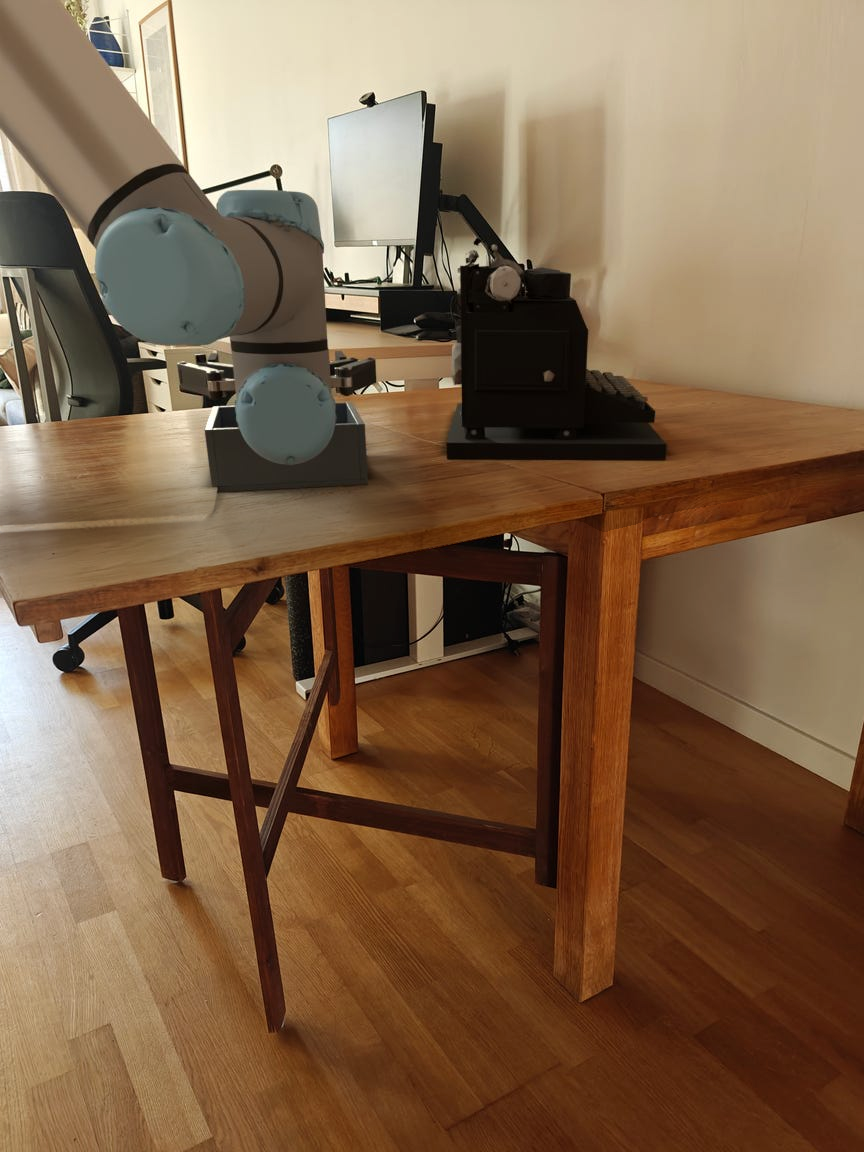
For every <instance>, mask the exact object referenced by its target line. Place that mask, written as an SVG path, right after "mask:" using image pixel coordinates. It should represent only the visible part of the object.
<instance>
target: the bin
mask: <svg viewBox="0 0 864 1152" xmlns="http://www.w3.org/2000/svg"><path fill="white" fill-rule="evenodd" d="M335 404H336V409H335V413H336V416H337V417H336V425H335V428H334V432H333V435H332V438H331V440H330V441H329V443H328V445H327V446H326V447H325V448H324V450H323V451H322V452H321V453H319V454H318V455H317V456H316V457H314V458H312V459H311V460H308V461H306V462H303V463H299V464H294V465H287V464H278V463H275V462H272V461H269V460H267V459H265V458H263V457H261V456H260V455H258V454H257V453H256V452H255V451H254V450H253V449H252V448H251V447H250V446H249V445H248V444H247V442H246V441H245V439H244V438H243V436H242V434H241V431H240V430H239V429H238V426H237V421H236V414H235V405H216V406H215V405H214V406H212V408H211V411H210V414H209V417H208V419H207V423H206V425H205V428H204V436H205V446H206V452H207V460H208V461H207V462H208V469H209V477H210V485H211V487H212V488H213V487H214V488H215V487H217V489H216V493H226V492H227V493H229V492H230V493H231V492H246V491H247V492H248V491H266V490H283V489H285V490H286V489H304V488H325V487H344V486H345V487H346V486H361V485H362V486H363V485H369V479H368V478H369V477H368V459H367V457H368V456H367V438H366V437H367V436H366V424H365V422H364V420H363V418H362V417H361V415H360V413H359V412H358V410H357V409H356V406H355V405H354V403H353V401H337V402H336V401H335Z"/></svg>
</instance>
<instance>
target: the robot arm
mask: <svg viewBox="0 0 864 1152" xmlns="http://www.w3.org/2000/svg"><path fill="white" fill-rule="evenodd" d="M0 130H1V131H2V133H3V134H4V136H5V137H6V138H7V139H8V141H9V142H10V143H11V144H12V145H13V147H14V148H15V149H16V150H17V152H18V153H19V154H20V155H21V157H22V158H23V159H24V161H25V162H26V163H27V164H28V166H29V167H30V168H31V170H32V171H33V172H34V173H35V174H36V176H37V177H38V178H39V179H40V181H41V182H42V183H43V184H44V186H45V187H46V188H47V189H48V191H49V192H50V193H51V194H52V196H53V197H54V198H55V199H56V201H57V202H58V203H59V204H60V206H61V207H62V208H63V210H65V212H66V213H67V214H68V216H69V218H71V219H72V221H73V222H74V223H75V225H76V226H77V227H78V228H79V229H80V231H81V232H82V233H83V234H84V236H85V237H86V238H87V239H88V241H89V242H90V244H91V245H92V246H93V247H94V249H95V257H94V267H93V268H94V275H95V279H96V281H97V284H98V289H99V291H100V294H101V297H102V302H103V304H104V306H105V308H106V310H107V311H108V313H109V314H110V315H111V317H112V318H113V319H114V320H115V322H116V323H117V324H118V325H119V326H120V327H121V328H122V329H123V330H125V331H127V332H128V333H129V334H130V335H132V336H133V337H135V338H137V339H139V340H141V341H143V342H146V343H150V344H153V345H155V346H156V345H157V346H163V347H182V346H185V347H201V346H207V345H208V346H209V345H211V344H213V343H216V342H217V341H219V340H222V339H225V338H229V342H230V350H231V351H230V352H231V360H232V361H231V362H232V364H230V363H222V362H220V361H219V353H218V352H210V354H209V356H208V358H207V354H206V353H196V354H194V358H195V363H190V362H186V361H180V362H177V363H176V366H177V373H178V381H179V388H180V389H181V390H185V391H189V392H192V393H196V394H200V395H203V396H206V397H208V398H209V399H210V400H213V401H220V400H222V399H223V398H226V397H228V392H235V398H236V399H235V400H234V406H235V414H236V421H237V426H238V429H239V430H240V431H241V434H242V436H243V438H244V439H245V441H246V442H247V444H248V445H249V446H250V447H251V448H252V449H253V450H254V451H255V452H256V453H257V454H258V455H260V456H261V457H263V458H265V459H267V460H269V461H272V462H275V463H278V464H287V465H294V464H299V463H303V462H306V461H308V460H311V459H312V458H314V457H316V456H317V455H318V454H319V453H321V452H322V451H323V450H324V448H325V447H326V446H327V445H328V443H329V441H330V440H331V438H332V435H333V432H334V428H335V425H336V417H337V416H336V413H335V409H336V404H335V402H336V400H335V397H333V395H332V389H335V393H336V394H340V395H341V396H344V397H350V396H352V395H354V392H357V391H360V390H362V389H364V388H366V387H369V386H372V385H374V384H376V383H377V361H376V358H374V357H367V358H364V359H360V360H359V358H357V357H354V356H353V357H352V356H351V357H349V358H348V357H347V355H345V353H344V352H343V351H342V350H334V360H331V361H330V350H329V344H328V343H329V342H328V341H329V340H328V327H327V325H328V324H327V309H326V294H325V293H326V292H325V291H326V290H325V273H324V272H325V271H324V270H325V269H324V254H325V244H324V241H323V238H322V231H321V223H320V214H319V208H318V205H317V203H316V201H315V199H314V198H313V197H312V196H310V195H309V194H308V193H305V192H301V191H291V190H279V189H278V190H277V189H232V190H231V189H230V190H227V191H224V192H222V193H221V194H220V195H219V197H218V199H217V202H216V205H214V204H213V203H212V202H211V200H210V199H209V197H208V196H207V195H206V194H205V192H204V191H203V190H202V189H201V187H200V186H199V184H197V182H196V181H195V179H194V178H193V177H192V175H191V174H190V173H189V172H188V170H187V169H186V168H185V165H184V164H183V162H182V161H181V160H180V159H179V157H178V156H177V155H176V153H175V152H174V150H173V149H172V148H171V147H170V145H169V143H167V140H165V138H164V137H163V135H161V133H160V132H159V130H158V129H157V128H156V126H155V125H154V123H153V122H152V121H151V120H150V118H149V117H148V116H147V115H146V113H145V111H144V110H143V109H142V107H140V104H138V102H137V101H136V99H135V98H134V97H133V96H132V94H131V93H130V91H129V90H128V89H127V88H126V86H125V85H124V83H123V82H122V81H121V79H120V78H119V76H117V74H116V73H115V71H113V69H112V68H111V66H110V65H109V63H107V61H106V59H105V58H104V57H103V55H102V54H101V53H100V51H99V50H98V49H97V47H96V46H95V45H94V44H93V42H92V41H91V39H90V38H89V36H87V34H86V33H85V31H84V30H83V29H82V27H81V26H80V25H79V24H78V22H77V21H76V20H75V18H74V17H73V15H72V14H71V13H70V11H69V10H68V8H66V6H65V5H64V4H63V2H62V1H61V0H0Z"/></svg>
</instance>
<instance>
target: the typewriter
mask: <svg viewBox="0 0 864 1152" xmlns="http://www.w3.org/2000/svg"><path fill="white" fill-rule="evenodd" d="M482 242H483V243H484V246H485V250H486V254H487V255H485V257H486V258H485V259H486V261H485V262H486V263H485V265H483V266H482V265H480V263H476V262H477V260H478V258H480V255H479V253H478V251H477V250H475V249H471V250H470V251H467V252H466V253H465V255H467V254H468V255H467V256H465V265H460V266H459V267H457V273H458V274H459V276H458V280H459V285H460V286H459V287H460V288H458V289H457V294H458V295H459V294H460V295H459V296H460V306H459V307H460V325H456V328H455V332H456V342H454V344H453V345H452V346H451V380H452V382H453V386H457V385H461V402H457V404H456V406H455V407H456V408H455V411H454V415H453V417H452V421H451V425H450V429H449V432H448V436H447V439H446V460H550V461H551V460H554V461H555V460H556V461H557V460H559V461H561V460H566V461H569V460H570V461H578V460H579V461H583V460H584V461H666V459H667V447H668V444H667V443H666V442H665V440H664V439H663V437H661V436H660V434H659V433H658V432H657V431H656V430H655V429H654V428H653V426H652V425H651V424H655V422H656V410H655V408H653V407H652V405H650V404H649V403H648V401H649V398H648V396H645V395H644V396H643V394H642V393H641V391H639V390H638V389H636V387H635V386H634V385H632V383H631V382H630V381H628V379H626V377H625V376H624V375H614V374H613V372H610V371H603V372H601V370H599V369H591V370H589V368H588V345H589V344H588V343H589V328H588V327H587V325H586V322H585V320H584V317H583V314H582V312H581V310H580V307H579V305H578V303H577V300H576V299H575V298H573V297H571V285H572V284H571V283H572V273H570V272H566V271H561V270H559V269H553V268H548V267H537V268H536V267H535V268H530V269H522V267H521V266H520V265H519V264H517V263H516V262H515V261H513V260H511V259H505V258H504V257H502V255H501V254H500V253H499V252H498V245H497V244H492V245H491V250H492V251H493V253H492V255H493V257H494V258H493V257H492V256H491V253H490V249H489V246H488V244H487V242H485V241H484V240H483V239H481V238H479V237H476V238H475V239H474V241H473V246H477V247H479V245H480V244H481V243H482ZM520 275H521V276H522V275H523V284H522V280H521V277H520Z"/></svg>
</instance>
